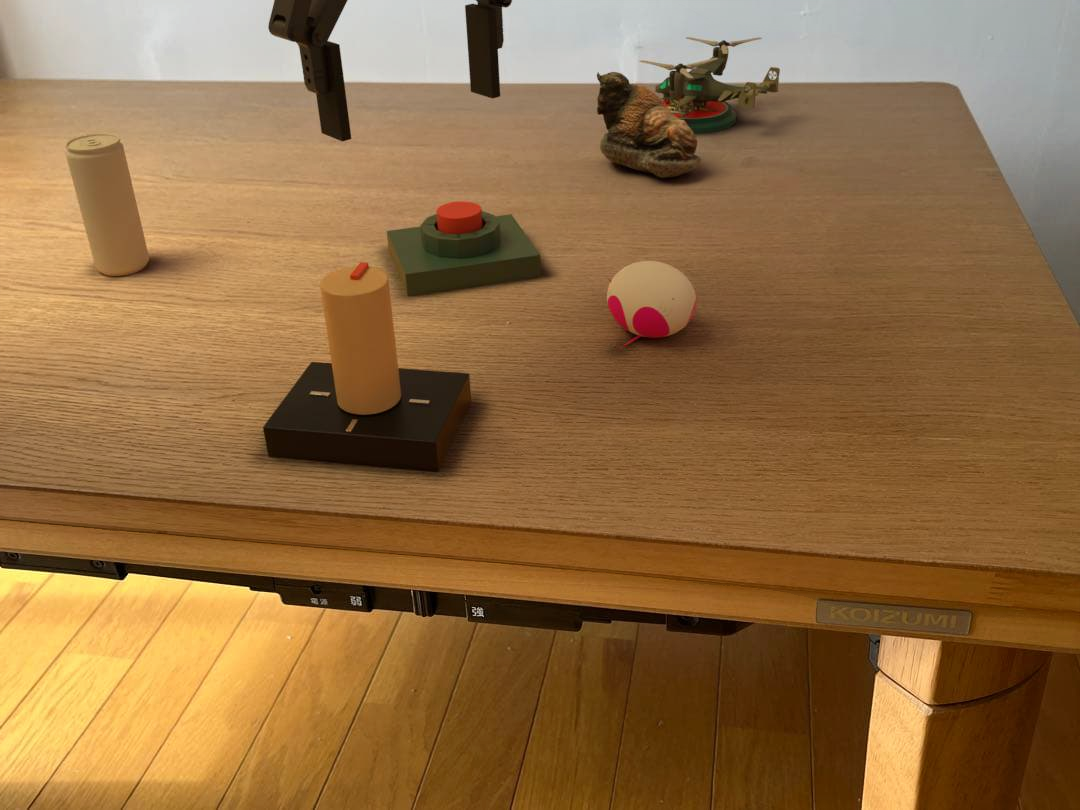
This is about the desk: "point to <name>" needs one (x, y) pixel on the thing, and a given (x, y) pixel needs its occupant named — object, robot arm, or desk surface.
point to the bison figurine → (643, 130)
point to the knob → (361, 339)
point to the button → (459, 217)
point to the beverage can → (107, 203)
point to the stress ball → (651, 299)
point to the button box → (462, 255)
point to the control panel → (370, 422)
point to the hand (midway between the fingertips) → (414, 114)
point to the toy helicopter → (709, 90)
